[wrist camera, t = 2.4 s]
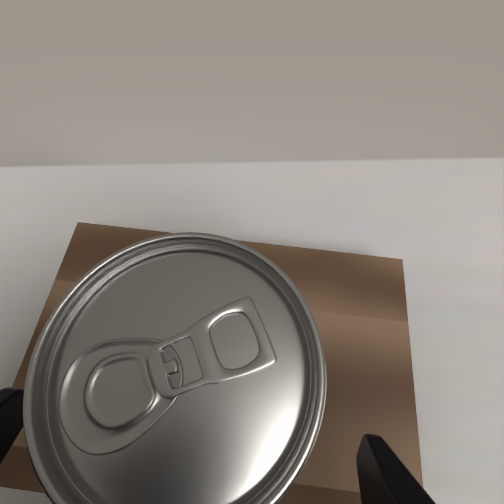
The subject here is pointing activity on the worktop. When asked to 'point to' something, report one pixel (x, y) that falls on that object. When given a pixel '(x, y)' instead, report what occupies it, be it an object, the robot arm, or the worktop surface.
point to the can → (175, 379)
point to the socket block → (335, 353)
